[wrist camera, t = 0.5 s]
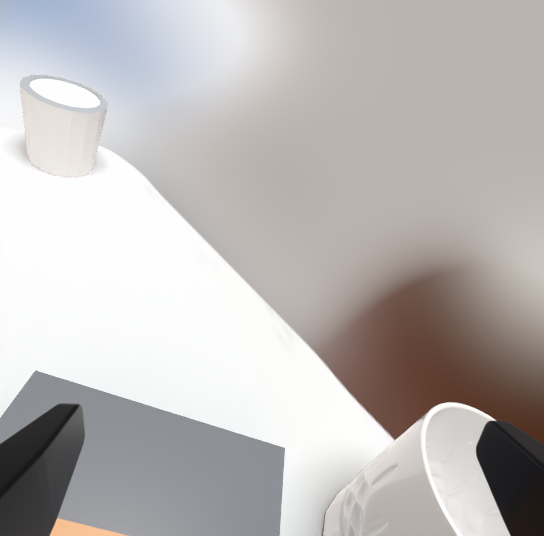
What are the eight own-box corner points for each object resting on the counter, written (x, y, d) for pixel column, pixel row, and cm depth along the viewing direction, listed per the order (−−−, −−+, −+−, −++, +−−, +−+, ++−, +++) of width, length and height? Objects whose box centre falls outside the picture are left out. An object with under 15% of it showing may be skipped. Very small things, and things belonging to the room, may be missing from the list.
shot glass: (113, 176, 38) (123, 112, 34) (45, 185, 33) (48, 110, 29) (75, 141, 40) (81, 77, 36) (5, 145, 35) (3, 69, 31)
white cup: (286, 521, 21) (389, 443, 15) (366, 456, 26) (465, 381, 20) (382, 697, 17) (570, 684, 11) (453, 579, 22) (606, 529, 16)
